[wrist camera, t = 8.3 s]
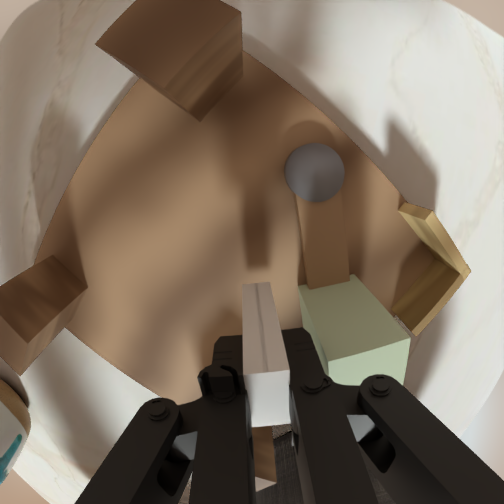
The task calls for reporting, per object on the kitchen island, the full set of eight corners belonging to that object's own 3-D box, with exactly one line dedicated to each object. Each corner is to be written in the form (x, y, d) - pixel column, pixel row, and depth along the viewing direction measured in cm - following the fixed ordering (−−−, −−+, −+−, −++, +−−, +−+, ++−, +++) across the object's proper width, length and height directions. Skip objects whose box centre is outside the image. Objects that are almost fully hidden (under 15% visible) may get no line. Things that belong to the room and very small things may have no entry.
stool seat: (431, 247, 18) (514, 296, 9) (243, 422, 23) (244, 504, 14) (199, 34, 14) (167, -50, 5) (39, 280, 18) (-31, 332, 10)
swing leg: (337, 140, 14) (404, 125, 7) (355, 322, 17) (400, 395, 10) (274, 149, 14) (299, 134, 7) (304, 334, 17) (330, 417, 11)
